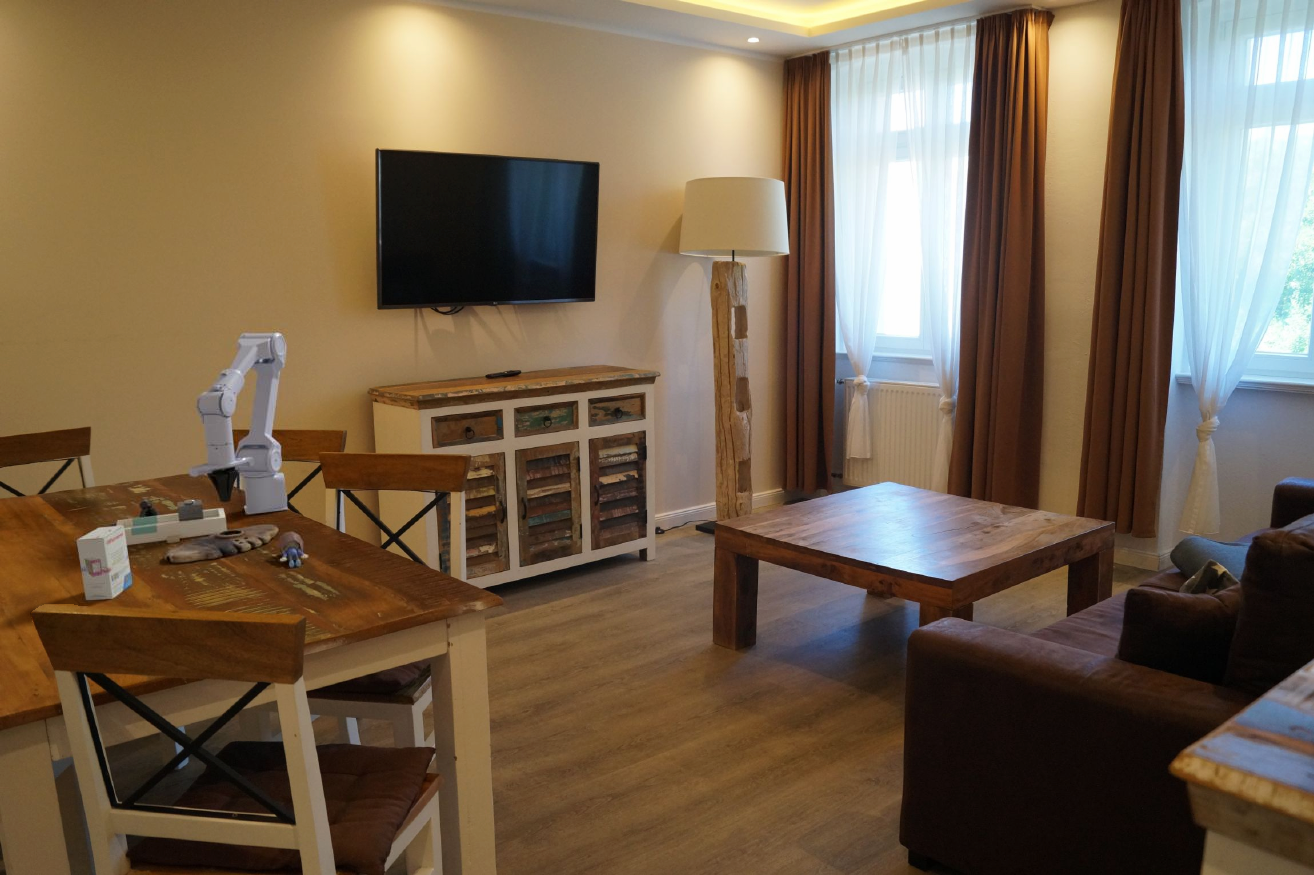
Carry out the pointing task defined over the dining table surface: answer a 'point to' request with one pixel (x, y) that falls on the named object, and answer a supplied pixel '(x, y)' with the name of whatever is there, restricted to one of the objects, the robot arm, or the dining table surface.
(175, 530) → the white rectangular tray
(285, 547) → the figurine
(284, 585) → the dining table surface
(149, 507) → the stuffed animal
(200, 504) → the rider
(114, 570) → the ink box
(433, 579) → the dining table surface
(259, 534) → the mask
